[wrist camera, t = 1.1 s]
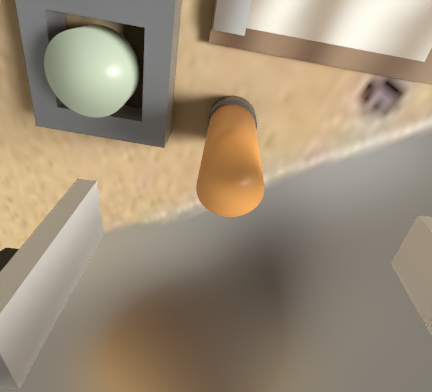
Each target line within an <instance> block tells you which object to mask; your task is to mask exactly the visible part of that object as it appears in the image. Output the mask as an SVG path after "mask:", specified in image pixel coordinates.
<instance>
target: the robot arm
mask: <svg viewBox="0 0 432 392" xmlns="http://www.w3.org/2000/svg"><path fill="white" fill-rule="evenodd" d="M103 234H104V230H103V223H102V216H101V209H100V202H99V194H98V187H97V181H91V180H82V179H77V181H76V182H75V183H74V184H73V185H72V187H71V188H70V189H69V190H68V191H67V193H66V194H65V195H64V196H63V197H62V198H61V200H60V201H59V202H58V203H57V204H56V206H55V207H54V208H53V209H52V210H51V212H50V213H49V214H48V215H47V216H46V218H45V219H44V220H43V221H42V222H41V224H40V225H39V226H38V227H37V228H36V230H35V231H34V232H33V233H32V234H31V236H30V237H29V238H28V239H27V240H26V242H25V243H24V244H23V245H22V246H21V248H20V249H13V248H5V249H3V250H2V251H0V387H4V388H15V389H19V388H20V386H21V385H22V383H23V381H24V379H25V377H26V376H27V374H28V372H29V370H30V368H31V366H32V364H33V363H34V361H35V359H36V357H37V355H38V353H39V352H40V350H41V348H42V346H43V344H44V342H45V341H46V339H47V337H48V335H49V333H50V331H51V329H52V328H53V326H54V324H55V322H56V320H57V318H58V317H59V315H60V313H61V311H62V309H63V307H64V305H65V304H66V302H67V300H68V298H69V296H70V295H71V293H72V291H73V289H74V287H75V285H76V283H77V282H78V280H79V278H80V276H81V274H82V272H83V271H84V269H85V267H86V265H87V263H88V261H89V260H90V258H91V256H92V254H93V252H94V250H95V248H96V246H97V245H98V243H99V241H100V239H101V237H102V236H103ZM391 265H392V266H393V268H394V270H395V272H396V274H397V275H398V277H399V279H400V281H401V282H402V284H403V286H404V288H405V290H406V291H407V293H408V295H409V297H410V298H411V300H412V302H413V304H414V305H415V307H416V309H417V311H418V313H419V315H420V316H421V318H422V320H423V322H424V323H425V325H426V327H427V329H428V330H429V332H430V334H431V336H432V217H426V216H418V217H417V219H416V220H415V222H414V224H413V226H412V227H411V229H410V231H409V233H408V235H407V236H406V238H405V240H404V242H403V243H402V245H401V247H400V248H399V250H398V252H397V254H396V256H395V257H394V259H393V261H392V262H391Z"/></svg>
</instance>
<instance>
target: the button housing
mask: <svg viewBox="0 0 432 392" xmlns="http://www.w3.org/2000/svg"><path fill="white" fill-rule="evenodd" d="M15 3H16V9H17V15H18V21H19V27H20V33H21V39H22V45H23V51H24V57H25V63H26V69H27V75H28V80H29V86H30V92H31V98H32V104H33V110H34V116H35V122H36V126H40V127H46V128H52V129H58V130H63V131H69V132H75V133H81V134H87V135H93V136H98V137H104V138H110V139H116V140H122V141H128V142H133V143H139V144H145V145H151V146H157V147H163V148H164V147H165V145H166V143H167V141H168V138H169V136H170V133H171V121H172V109H173V97H174V86H175V74H176V62H177V50H178V39H179V27H180V15H181V3H182V0H15ZM65 13H69V14H74V15H79V16H85V17H90V18H95V19H101V20H106V21H111V22H117V23H122V24H127V25H133V26H138V27H143V28H145V36H144V70H143V103H142V109H141V108H135V107H129V106H124V105H123V106H122V107H121V108H120V109H119V110H118V111H116V112H115V113H113V114H111V115H109V116H106V117H100V118H94V117H88V116H84V115H81V114H79V113H76V112H74V111H73V110H71V109H70V108H68V107H67V106H66V105H64V104H63V103H62V102H61V101H60V100H59V99H58V97H57V96H56V95H55V93H54V92H53V91H52V89H51V87H50V85H49V83H48V81H47V78H46V74H45V69H44V56H45V52H46V49H47V46H48V45H49V43H50V41H51V40H52V39H53V38H54V37H55V36H56V35H57V34H59V33H61V32H63V31H66V30H67V29H66V18H65Z"/></svg>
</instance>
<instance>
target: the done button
mask: <svg viewBox="0 0 432 392" xmlns="http://www.w3.org/2000/svg"><path fill="white" fill-rule="evenodd" d="M44 69H45V74H46V78H47V81H48V83H49V85H50V87H51V89H52V91H53V92H54V93H55V95H56V96H57V97H58V99H59V100H60V101H61V102H62V103H63V104H64V105H66V106H67V107H68V108H70V109H71V110H73V111H74V112H76V113H79V114H81V115H84V116H88V117H94V118H100V117H106V116H109V115H111V114H113V113H115V112H116V111H118V110H119V109H120V108H121V107H122V106H123V105H124V104H125V103H126V102H127V101H128V100H129V99H130V98H131V97H132V95H133V94H134V93H135V91H136V89H137V87H138V84H139V80H140V67H139V62H138V59H137V56H136V54H135V52H134V50H133V48H132V47H131V45H130V44H129V43H128V41H127V40H126V39H125V38H124V37H123V36H122V35H120V34H119V33H118V32H116V31H115V30H113V29H111V28H109V27H106V26H102V25H96V24H93V25H86V26H81V27H77V28H73V29H69V30H66V31H63V32H61V33H59V34H57V35H56V36H55V37H54V38H53V39H52V40H51V41H50V43H49V45H48V46H47V49H46V52H45V56H44Z"/></svg>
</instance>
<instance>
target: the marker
mask: <svg viewBox="0 0 432 392" xmlns="http://www.w3.org/2000/svg"><path fill="white" fill-rule="evenodd" d="M256 130H257V122H256V116H255V111H254V109H253V107H252V105H251V104H250V103H249V102H248V101H247V100H245V99H243V98H241V97H238V96H228V97H224V98H222V99H220V100H219V101H218V102H216V103H215V105H214V106H213V107H212V109H211V112H210V116H209V121H208V131H207V136H206V141H205V146H204V151H203V156H202V161H201V166H200V170H199V175H198V180H197V187H196V189H197V195H198V198H199V200H200V201H201V203H202V204H203V205H204V206H205V207H206V208H207V209H208V210H210V211H211V212H213V213H215V214H218V215H221V216H227V217H234V216H240V215H243V214H246V213H248V212H250V211H252V210H253V209H254V208H255V207H256V206H257V205H258V204H259V203H260V201H261V199H262V197H263V194H264V182H263V174H262V167H261V160H260V153H259V146H258V138H257V131H256Z"/></svg>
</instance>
